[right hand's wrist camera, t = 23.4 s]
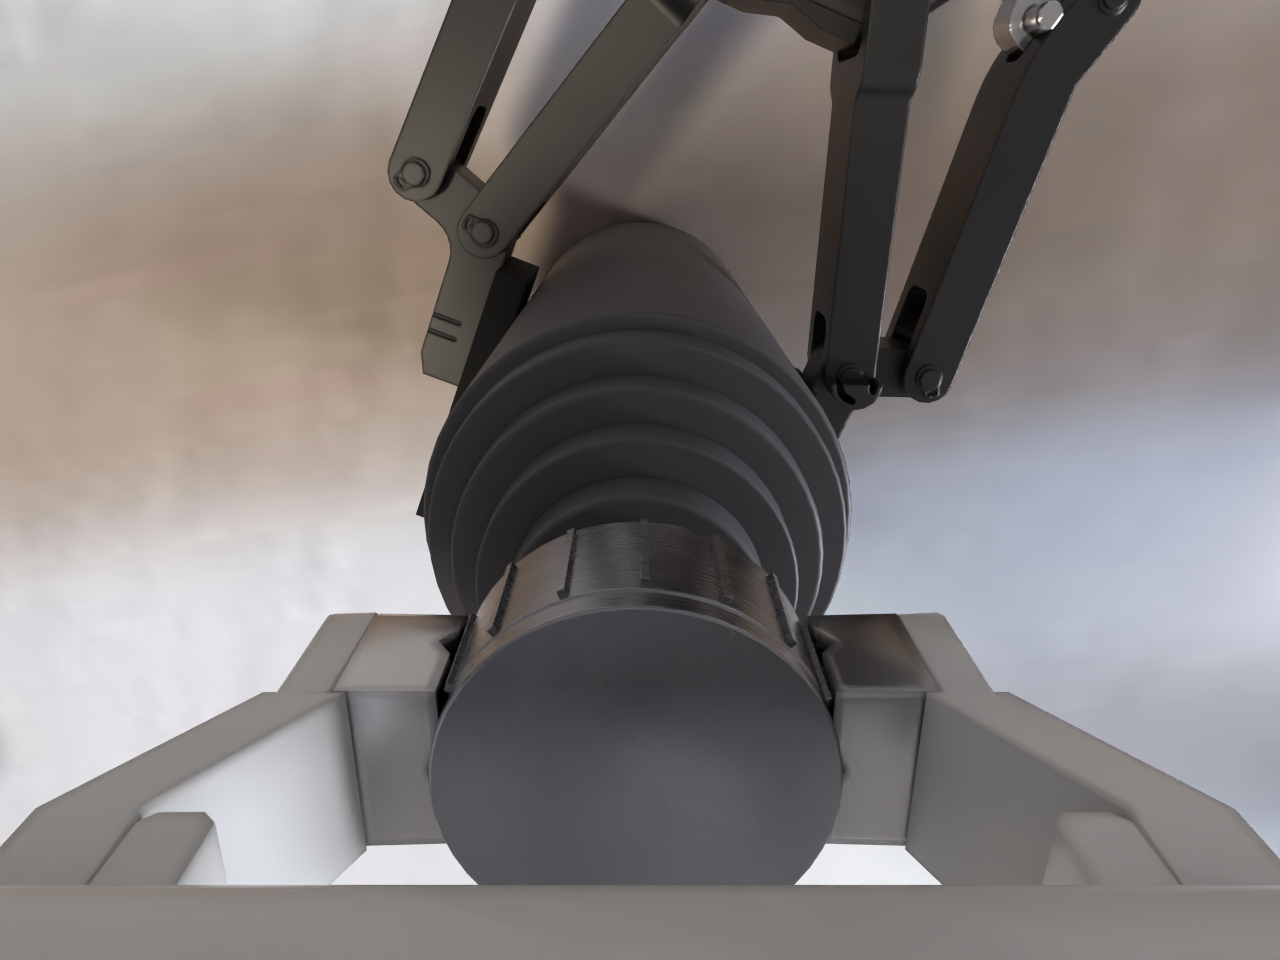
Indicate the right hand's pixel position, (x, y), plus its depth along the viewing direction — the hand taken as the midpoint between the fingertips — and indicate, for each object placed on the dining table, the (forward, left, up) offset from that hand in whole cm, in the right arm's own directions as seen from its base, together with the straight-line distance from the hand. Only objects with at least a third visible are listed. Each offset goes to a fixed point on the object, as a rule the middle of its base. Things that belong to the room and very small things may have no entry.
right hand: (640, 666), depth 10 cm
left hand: (-5, 0, -13) cm, 14 cm away
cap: (0, 0, +2) cm, 2 cm away
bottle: (0, 0, -20) cm, 20 cm away
